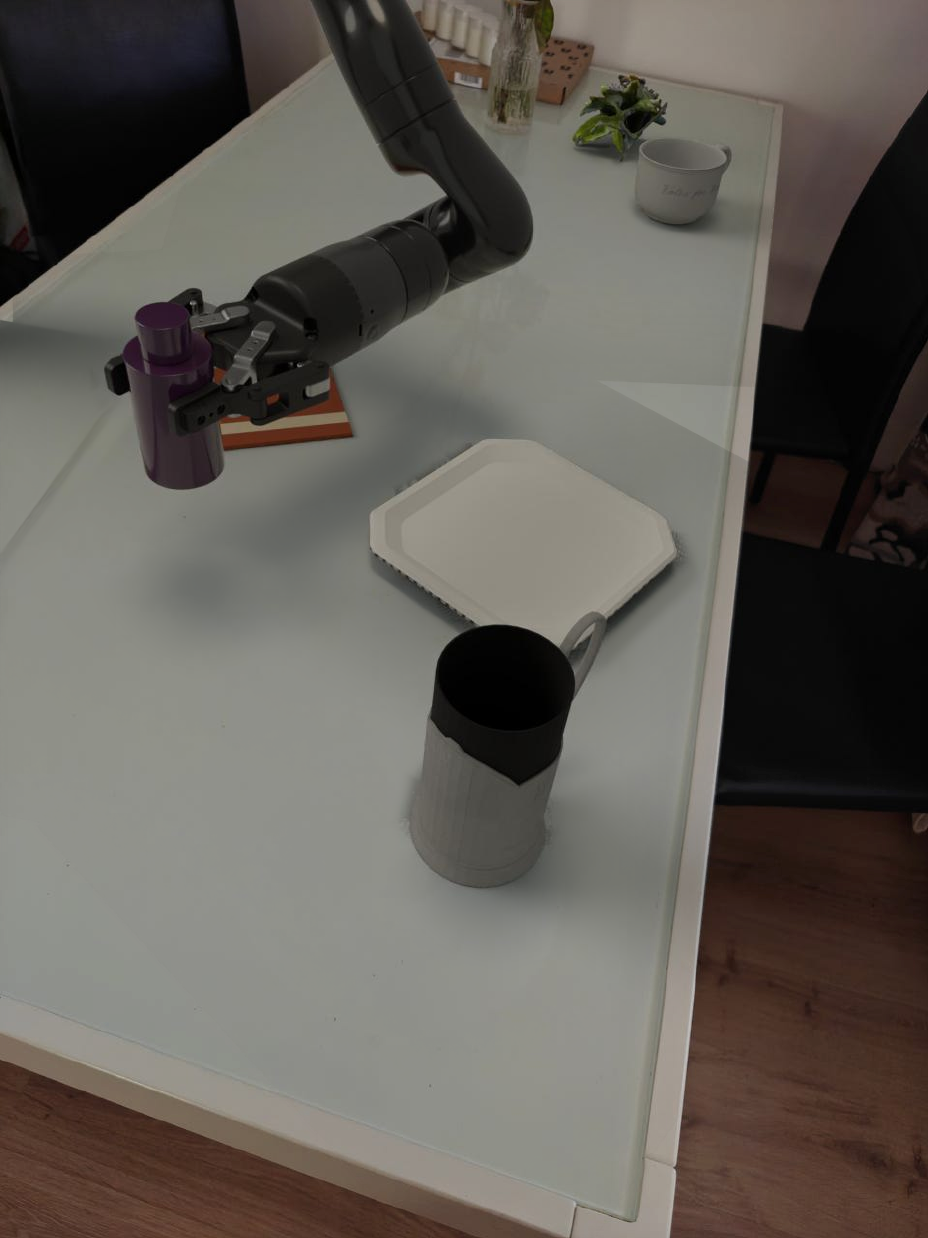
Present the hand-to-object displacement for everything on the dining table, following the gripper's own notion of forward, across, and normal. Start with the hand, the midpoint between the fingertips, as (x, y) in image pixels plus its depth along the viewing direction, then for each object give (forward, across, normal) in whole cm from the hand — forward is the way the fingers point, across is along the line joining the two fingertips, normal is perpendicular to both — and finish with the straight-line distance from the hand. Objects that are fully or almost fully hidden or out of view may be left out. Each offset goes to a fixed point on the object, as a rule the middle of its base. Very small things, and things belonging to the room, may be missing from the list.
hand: (141, 401), depth 62 cm
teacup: (-88, -7, +18) cm, 90 cm away
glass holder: (-2, +30, +18) cm, 35 cm away
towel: (-24, -17, +18) cm, 34 cm away
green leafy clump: (-99, -24, +18) cm, 103 cm away
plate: (-22, +16, +18) cm, 33 cm away
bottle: (-3, 0, +6) cm, 7 cm away
